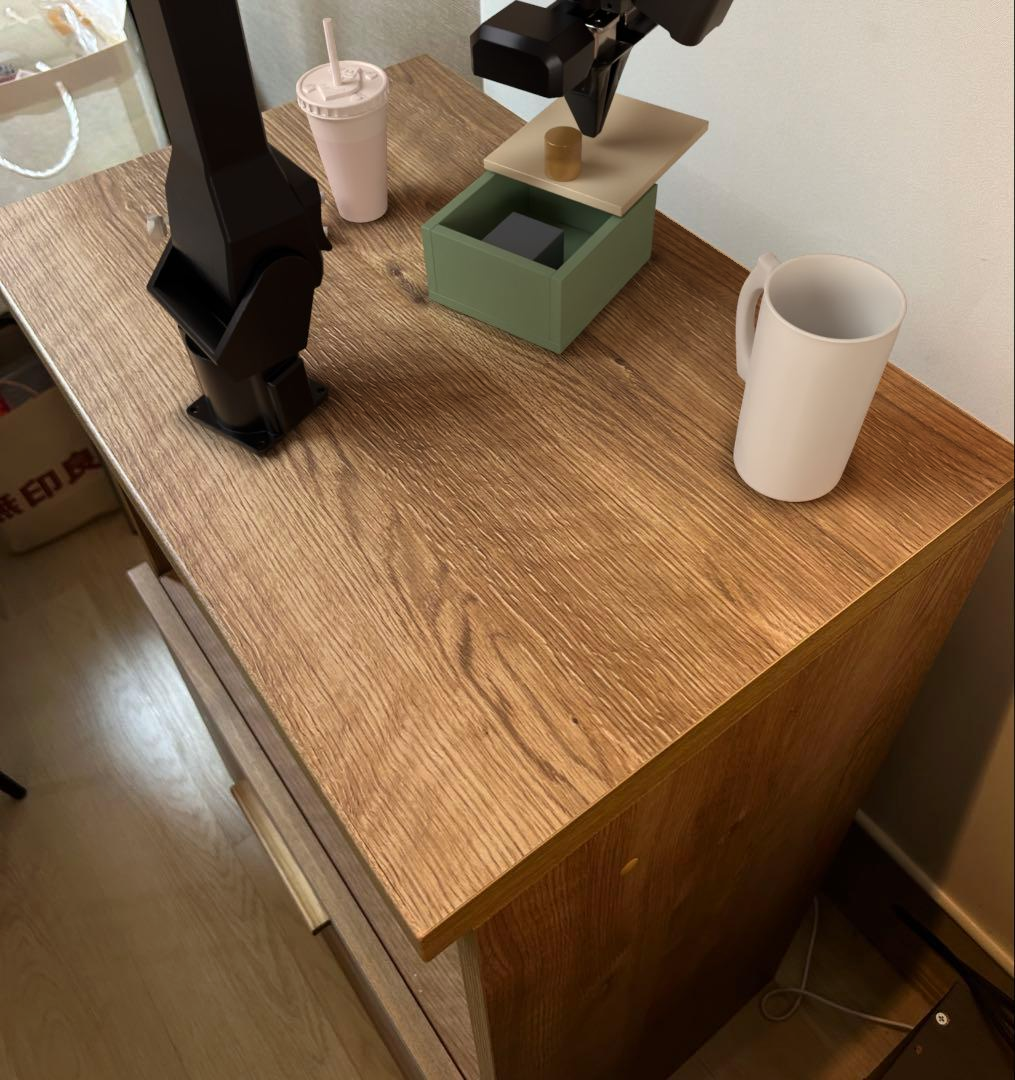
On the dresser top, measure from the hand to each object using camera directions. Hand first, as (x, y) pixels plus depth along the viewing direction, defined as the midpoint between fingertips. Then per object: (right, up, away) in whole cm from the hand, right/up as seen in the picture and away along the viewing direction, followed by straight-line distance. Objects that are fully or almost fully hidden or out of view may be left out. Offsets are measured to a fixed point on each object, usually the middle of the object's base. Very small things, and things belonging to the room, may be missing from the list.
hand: (591, 134), depth 65 cm
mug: (+10, -21, -7) cm, 25 cm away
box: (-3, -9, +3) cm, 10 cm away
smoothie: (-16, -2, +9) cm, 19 cm away
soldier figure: (-24, -6, +6) cm, 26 cm away
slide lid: (+1, 0, +2) cm, 2 cm away
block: (-5, -10, +1) cm, 11 cm away
